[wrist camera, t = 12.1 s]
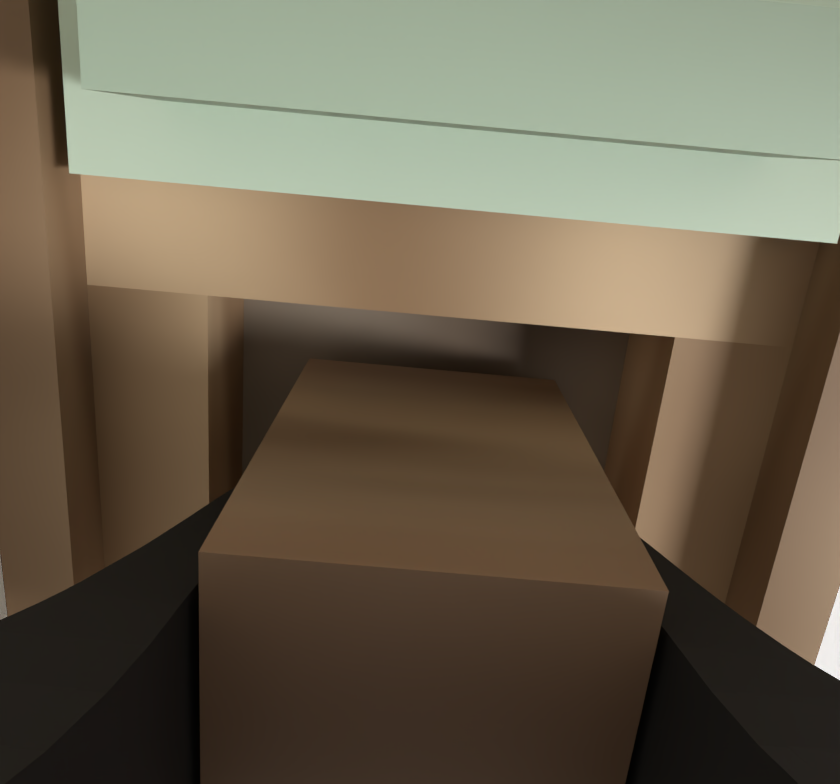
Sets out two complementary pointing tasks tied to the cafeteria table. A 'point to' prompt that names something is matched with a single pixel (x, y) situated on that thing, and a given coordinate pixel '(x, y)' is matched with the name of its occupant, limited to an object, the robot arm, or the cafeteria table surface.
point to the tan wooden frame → (395, 354)
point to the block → (423, 591)
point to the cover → (473, 104)
